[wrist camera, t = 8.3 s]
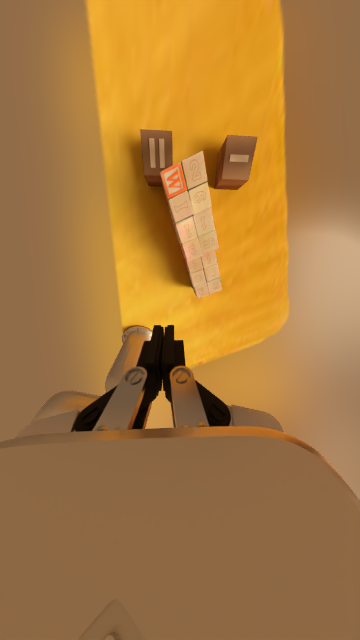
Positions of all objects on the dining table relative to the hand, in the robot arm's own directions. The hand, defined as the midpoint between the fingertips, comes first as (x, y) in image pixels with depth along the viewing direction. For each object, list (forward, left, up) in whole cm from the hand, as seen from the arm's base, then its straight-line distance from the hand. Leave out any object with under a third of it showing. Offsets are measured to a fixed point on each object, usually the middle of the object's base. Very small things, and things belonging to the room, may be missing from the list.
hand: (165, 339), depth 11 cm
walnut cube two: (+20, +2, -29) cm, 35 cm away
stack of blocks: (+7, -5, -30) cm, 31 cm away
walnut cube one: (+20, -12, -29) cm, 37 cm away
